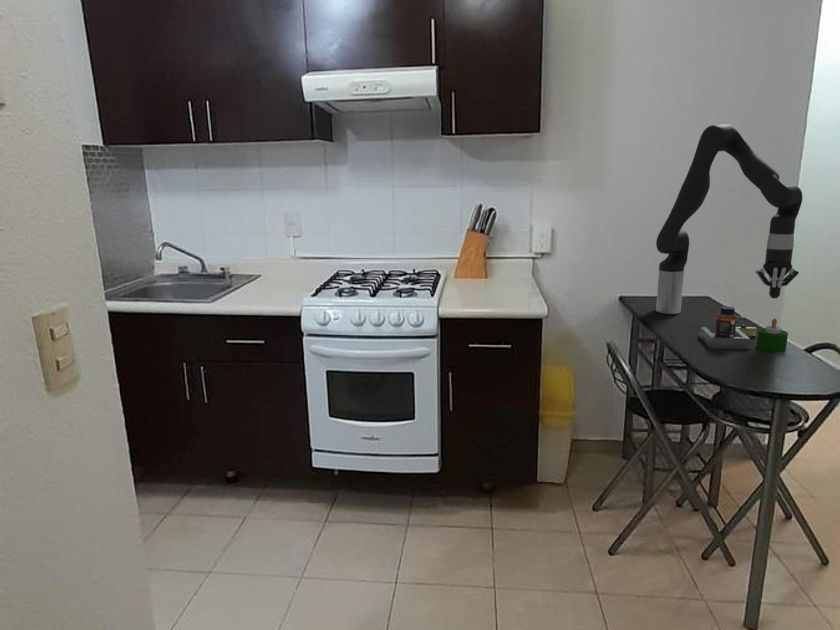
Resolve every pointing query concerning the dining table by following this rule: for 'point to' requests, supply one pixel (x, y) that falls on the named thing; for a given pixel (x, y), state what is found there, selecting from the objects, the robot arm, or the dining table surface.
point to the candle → (772, 338)
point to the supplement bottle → (726, 322)
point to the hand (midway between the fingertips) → (773, 297)
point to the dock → (725, 340)
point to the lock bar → (748, 330)
